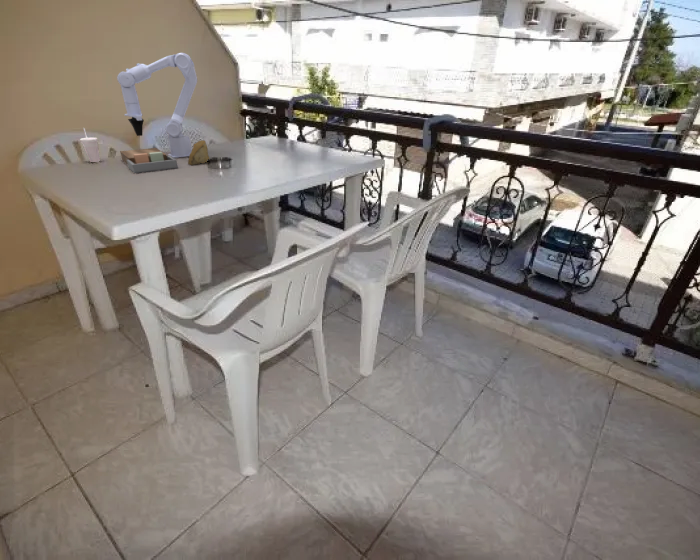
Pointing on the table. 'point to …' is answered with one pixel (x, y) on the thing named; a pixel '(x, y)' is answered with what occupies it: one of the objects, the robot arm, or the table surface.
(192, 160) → the rock
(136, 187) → the table surface
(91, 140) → the smoothie
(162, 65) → the robot arm
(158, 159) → the sage tile
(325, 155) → the table surface
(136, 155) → the terracotta tile
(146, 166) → the box
